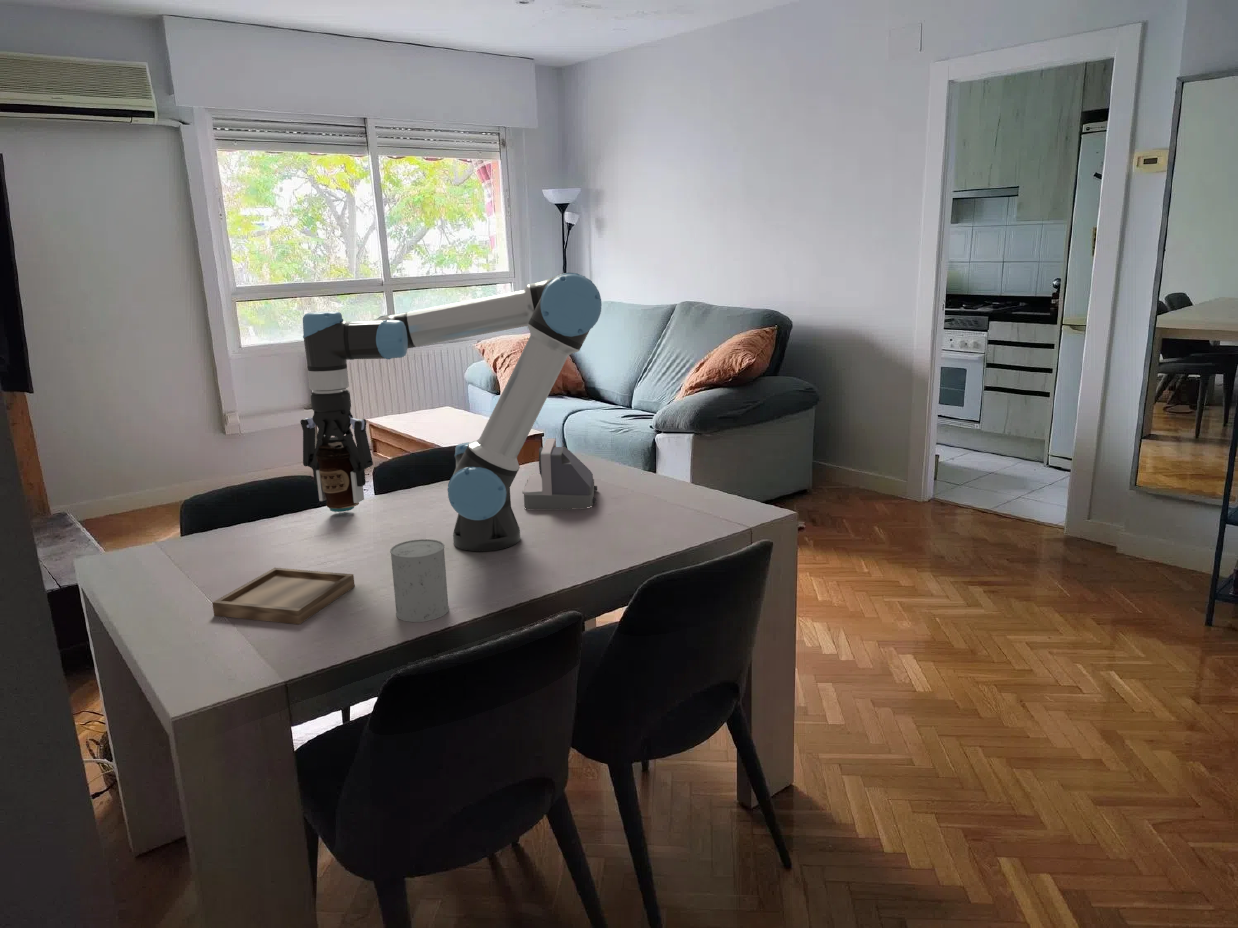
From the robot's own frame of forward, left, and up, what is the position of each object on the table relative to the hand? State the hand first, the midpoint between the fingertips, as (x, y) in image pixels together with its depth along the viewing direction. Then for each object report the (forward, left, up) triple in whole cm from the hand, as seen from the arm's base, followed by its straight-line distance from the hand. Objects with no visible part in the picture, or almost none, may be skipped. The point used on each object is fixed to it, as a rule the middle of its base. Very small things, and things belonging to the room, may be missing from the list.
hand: (341, 500), depth 174 cm
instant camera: (-28, -57, -15) cm, 66 cm away
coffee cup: (0, 0, -1) cm, 1 cm away
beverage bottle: (+23, -34, -15) cm, 44 cm away
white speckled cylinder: (-26, +17, -15) cm, 35 cm away
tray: (+2, +18, -15) cm, 23 cm away
